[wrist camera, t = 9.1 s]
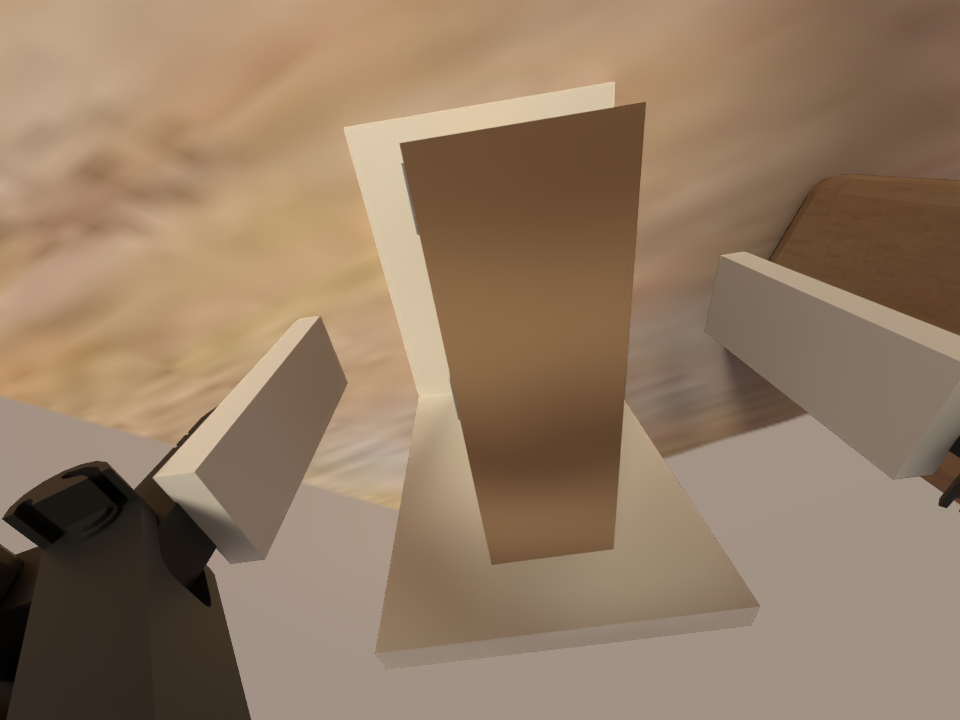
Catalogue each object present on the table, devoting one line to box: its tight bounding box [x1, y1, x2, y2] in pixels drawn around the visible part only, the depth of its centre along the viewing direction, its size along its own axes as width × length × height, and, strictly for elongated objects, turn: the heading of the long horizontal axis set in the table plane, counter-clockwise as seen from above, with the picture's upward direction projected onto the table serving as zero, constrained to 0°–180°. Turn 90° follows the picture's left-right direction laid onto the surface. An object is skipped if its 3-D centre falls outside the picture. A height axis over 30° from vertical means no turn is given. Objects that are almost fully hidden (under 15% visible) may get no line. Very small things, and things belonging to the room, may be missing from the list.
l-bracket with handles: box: [343, 82, 760, 670], centre depth 14 cm, size 16×12×15 cm
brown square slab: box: [399, 102, 646, 565], centre depth 14 cm, size 12×4×12 cm, turn 8°
